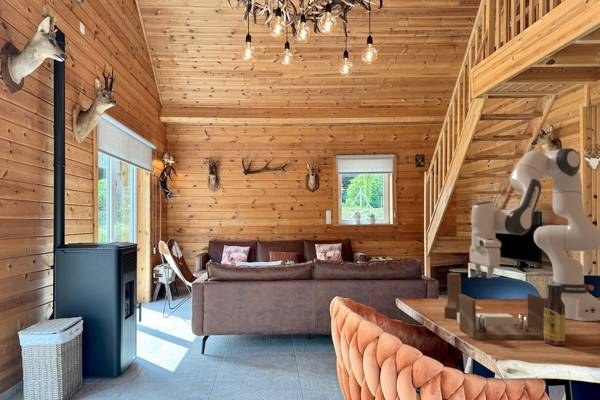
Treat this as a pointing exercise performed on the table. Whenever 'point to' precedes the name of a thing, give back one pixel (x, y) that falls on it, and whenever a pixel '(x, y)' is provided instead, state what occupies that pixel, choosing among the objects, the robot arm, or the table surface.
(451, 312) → the wooden block
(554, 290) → the sauce bottle
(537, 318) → the brown open-topped frame
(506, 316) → the white rectangular block
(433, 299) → the table surface
